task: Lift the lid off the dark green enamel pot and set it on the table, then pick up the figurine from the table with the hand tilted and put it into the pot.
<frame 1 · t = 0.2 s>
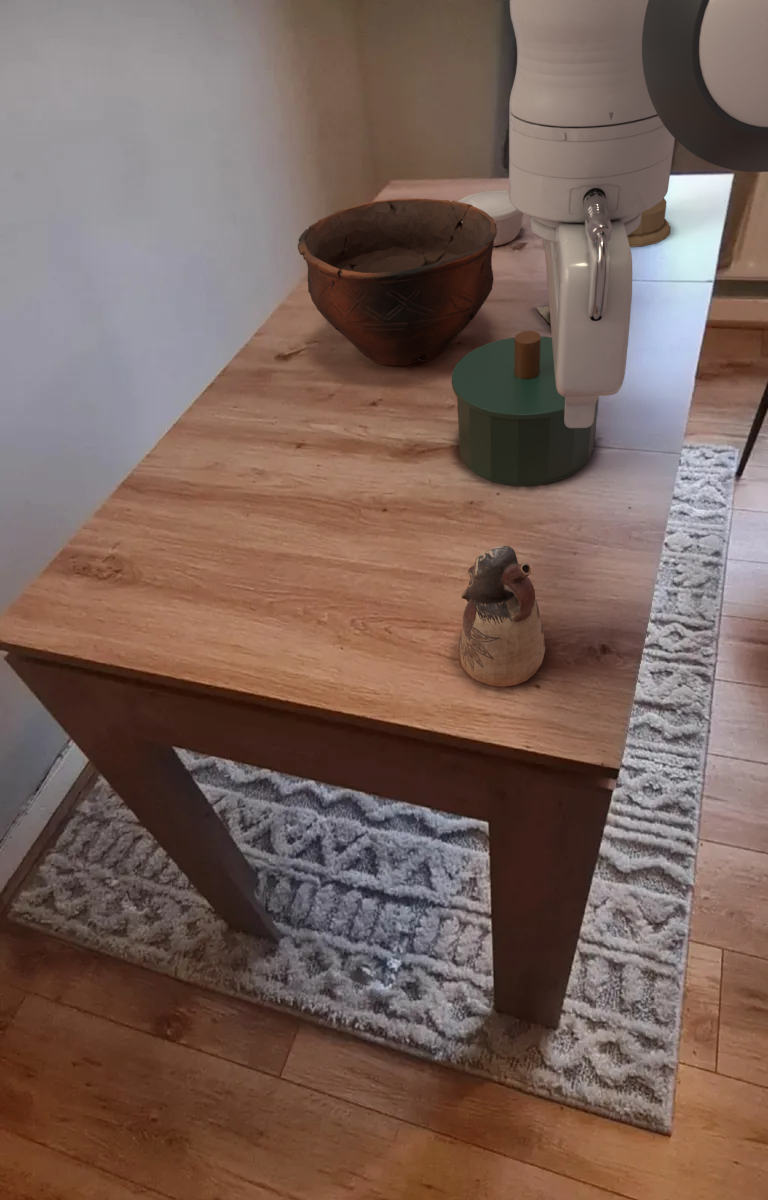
hand: (573, 382, 54), 23 cm above the table, tool pointing down, fingers open, 8 cm apart
ramekin: (489, 237, 131), on the table
lantern: (630, 232, 126), on the table
bowl: (407, 343, 109), on the table
figurine: (501, 657, 68), on the table
condiment: (572, 319, 108), on the table
pot: (525, 446, 89), on the table
lid: (526, 377, 83), point 8 cm above the table, touching pot
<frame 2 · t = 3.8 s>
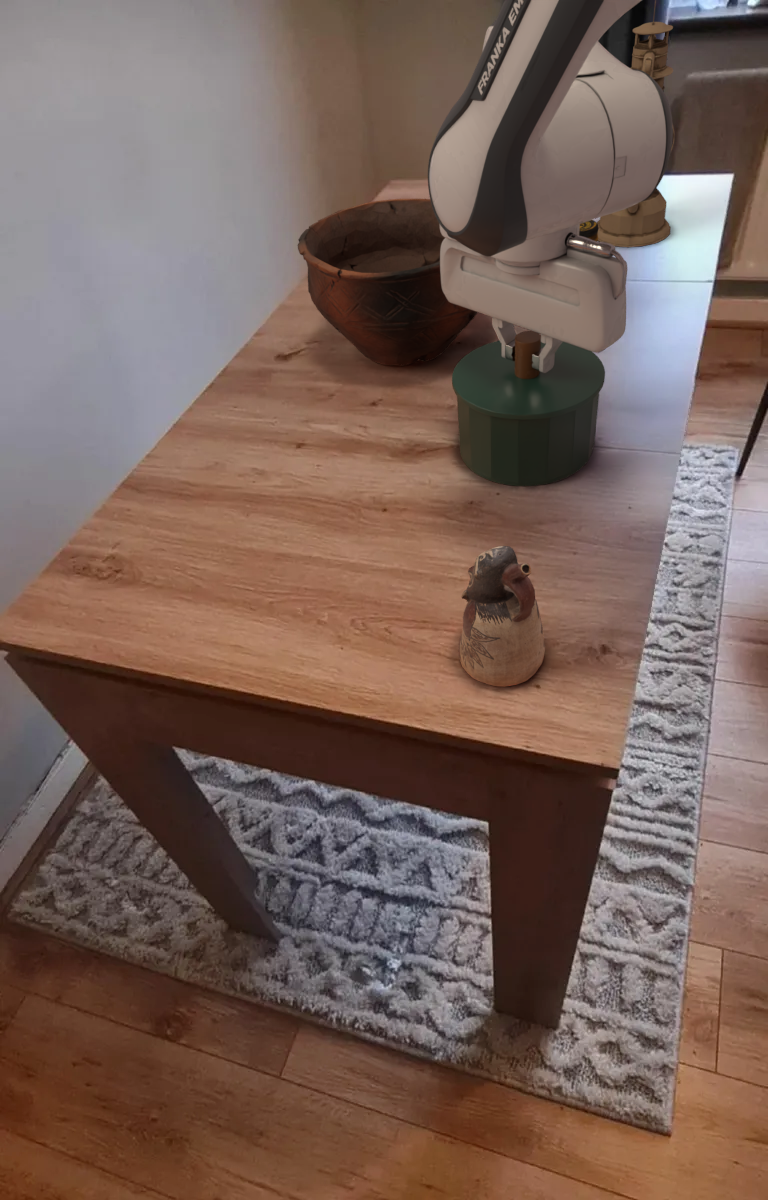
hand: (527, 363, 82), 10 cm above the table, tool pointing down, fingers closed on lid, 2 cm apart
lid: (527, 378, 83), point 9 cm above the table, touching gripper, pot
everything else where it was.
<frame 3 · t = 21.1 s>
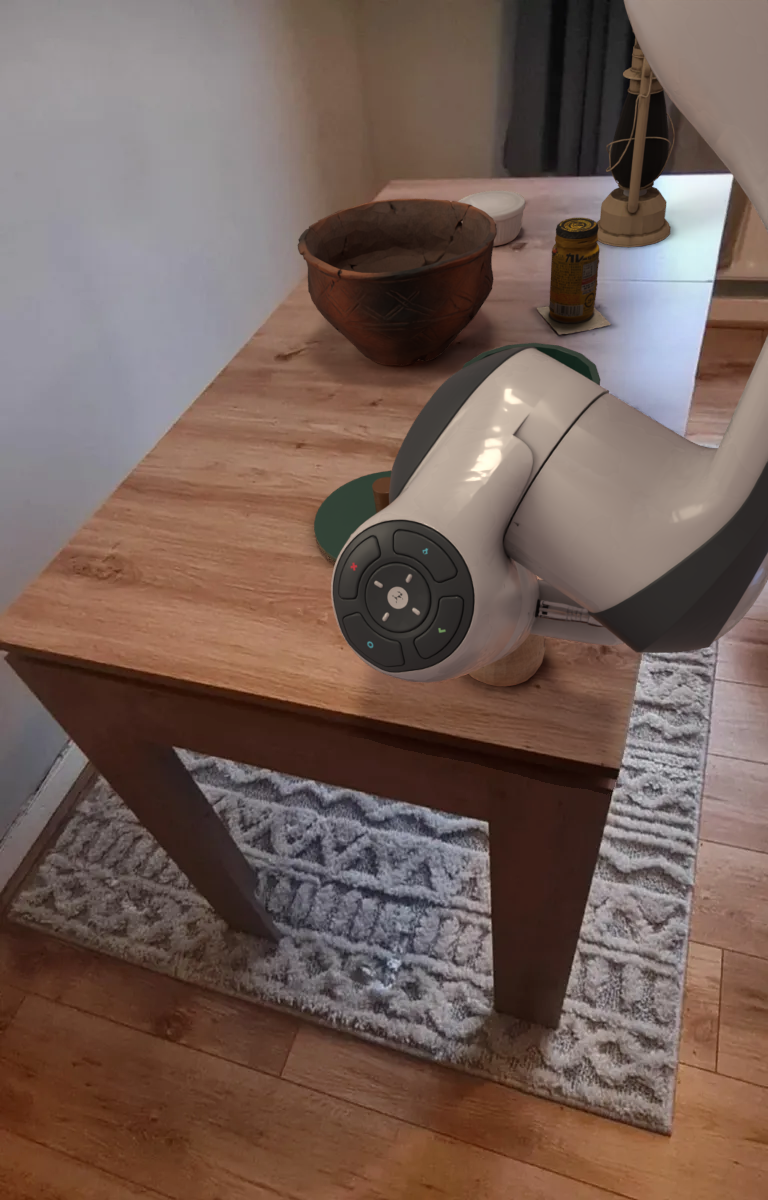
hand: (501, 597, 64), 6 cm above the table, tool tilted 45°, fingers closed on figurine, 6 cm apart
figurine: (501, 657, 68), on the table, touching gripper
lid: (390, 520, 81), point 1 cm above the table
everything else where it was.
when the fingers open (7 cm above the table, at t = 32.5 s): figurine stays where it is, resting on pot.
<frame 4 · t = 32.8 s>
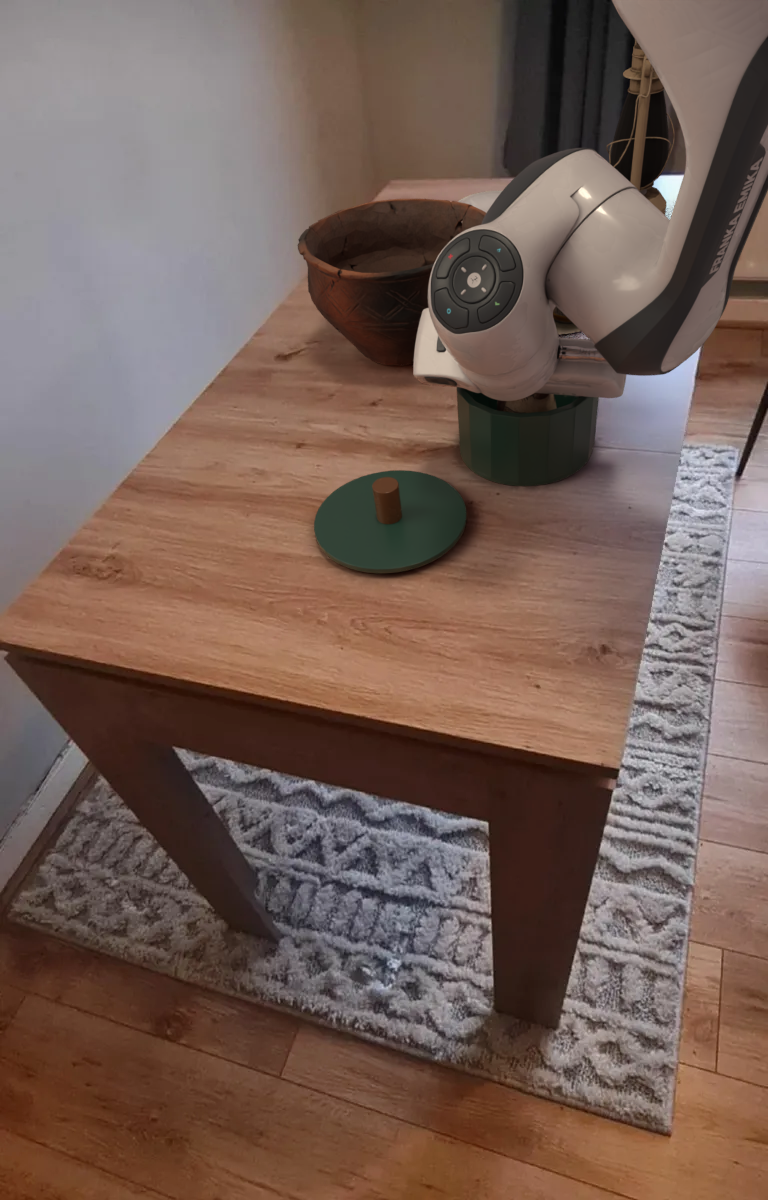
hand: (528, 386, 84), 7 cm above the table, tool tilted 45°, fingers open, 8 cm apart
figurine: (526, 443, 89), resting on pot
everything else where it was.
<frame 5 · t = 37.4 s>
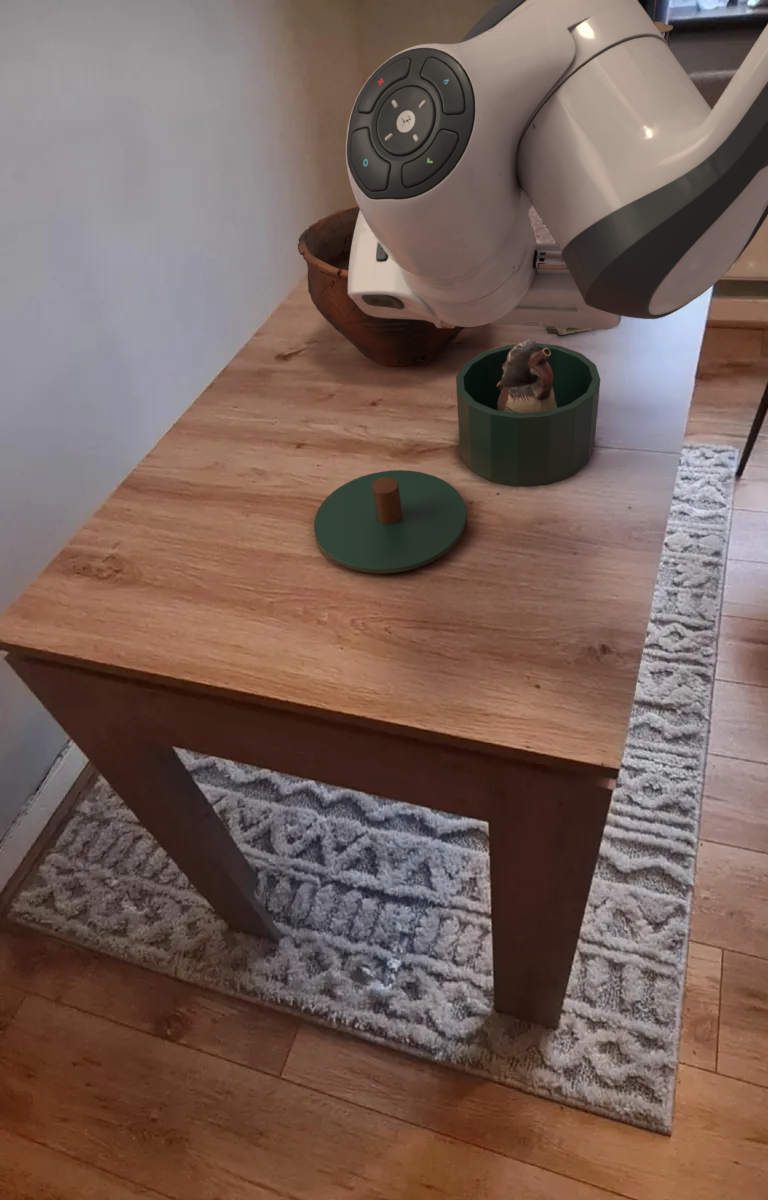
hand: (501, 322, 67), 20 cm above the table, tool tilted 45°, fingers open, 8 cm apart
nothing on the table moved.
at the end: lid inside the target area (0.1 cm from its centre), point 0.6 cm above the table; figurine inside the target area in the pot (0.1 cm from its centre), point 0.3 cm above the pot's base; the gripper is holding nothing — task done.
